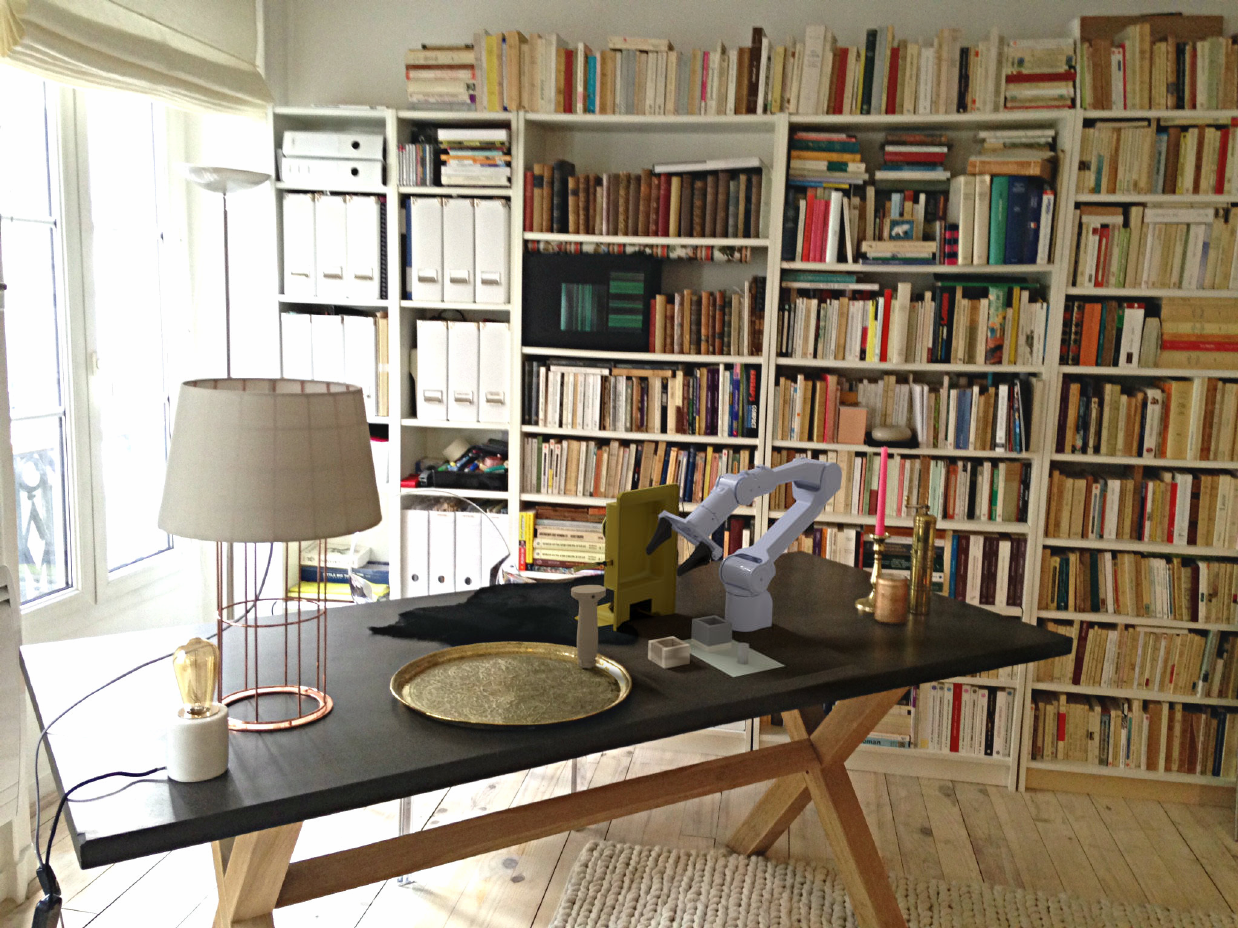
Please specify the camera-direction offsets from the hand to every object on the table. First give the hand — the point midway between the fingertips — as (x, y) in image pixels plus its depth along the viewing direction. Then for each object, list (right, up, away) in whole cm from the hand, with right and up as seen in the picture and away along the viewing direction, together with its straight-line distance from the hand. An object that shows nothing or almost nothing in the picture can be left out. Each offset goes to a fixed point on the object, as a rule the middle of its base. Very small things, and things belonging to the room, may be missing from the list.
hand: (662, 562), depth 193 cm
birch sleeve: (+1, -19, -4) cm, 20 cm away
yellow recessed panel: (-7, -15, +24) cm, 29 cm away
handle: (-14, -19, -3) cm, 24 cm away
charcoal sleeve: (+10, -17, +5) cm, 20 cm away
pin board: (+12, -19, +1) cm, 23 cm away
